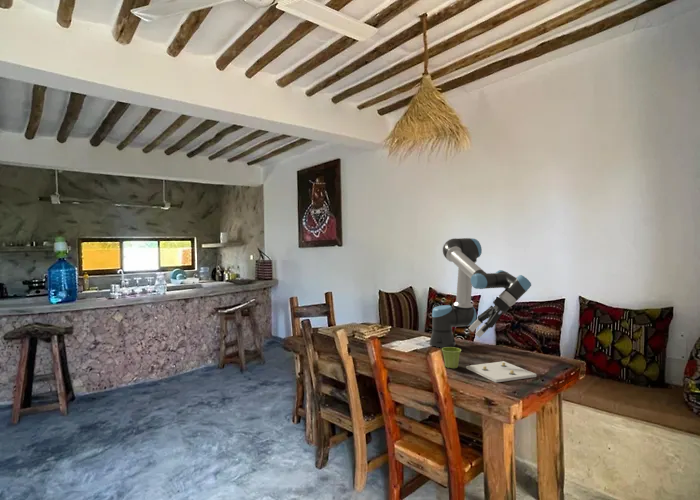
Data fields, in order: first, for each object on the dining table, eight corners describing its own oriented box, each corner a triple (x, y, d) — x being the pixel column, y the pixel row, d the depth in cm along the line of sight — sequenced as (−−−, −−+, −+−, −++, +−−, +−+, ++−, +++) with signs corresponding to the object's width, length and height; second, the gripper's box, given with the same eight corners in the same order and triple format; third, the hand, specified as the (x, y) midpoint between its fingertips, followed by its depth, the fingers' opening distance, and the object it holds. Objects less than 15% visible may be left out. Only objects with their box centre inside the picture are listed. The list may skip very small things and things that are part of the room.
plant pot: (454, 363, 206) (454, 346, 206) (465, 368, 197) (465, 350, 197) (438, 365, 203) (438, 348, 203) (448, 370, 194) (448, 352, 194)
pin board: (466, 368, 197) (466, 362, 197) (503, 363, 203) (503, 358, 203) (495, 382, 176) (495, 376, 176) (536, 376, 183) (536, 370, 183)
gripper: (518, 311, 185) (486, 344, 186) (501, 304, 210) (473, 333, 211) (506, 299, 185) (474, 332, 186) (491, 293, 210) (462, 323, 211)
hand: (473, 332), depth 199 cm, fingers open, 13 cm apart
